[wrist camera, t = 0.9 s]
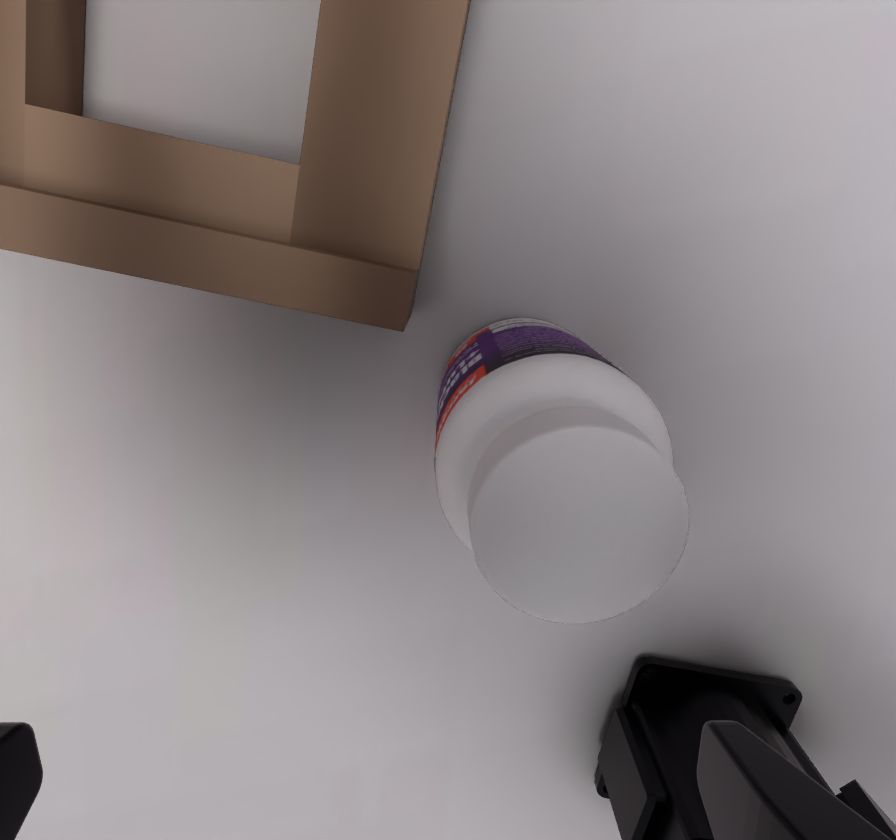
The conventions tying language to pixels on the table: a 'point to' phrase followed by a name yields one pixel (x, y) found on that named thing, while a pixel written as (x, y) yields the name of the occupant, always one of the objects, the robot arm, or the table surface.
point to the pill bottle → (556, 473)
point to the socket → (240, 167)
